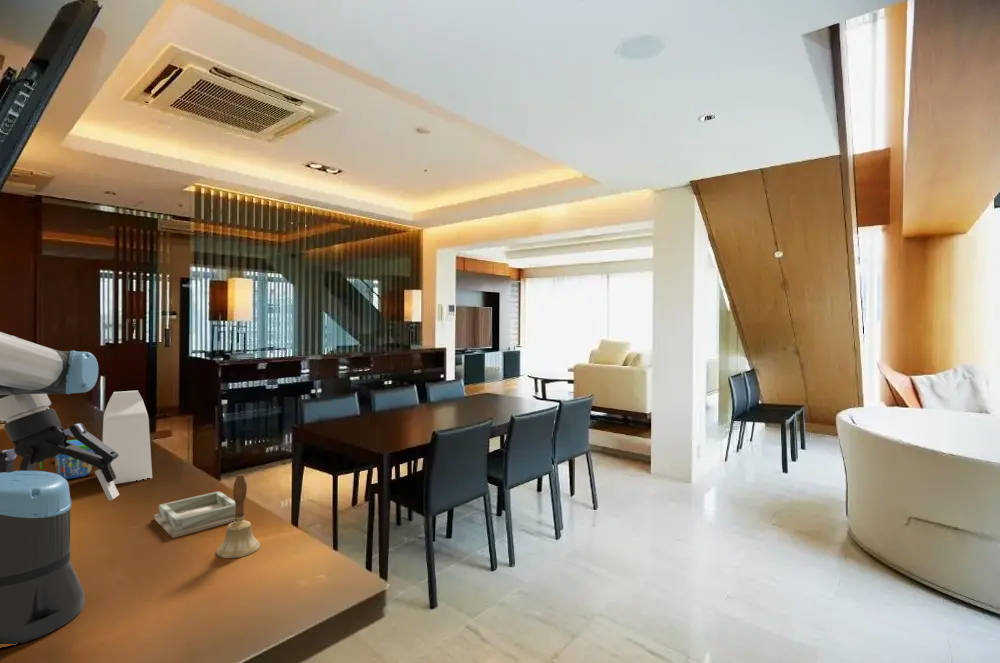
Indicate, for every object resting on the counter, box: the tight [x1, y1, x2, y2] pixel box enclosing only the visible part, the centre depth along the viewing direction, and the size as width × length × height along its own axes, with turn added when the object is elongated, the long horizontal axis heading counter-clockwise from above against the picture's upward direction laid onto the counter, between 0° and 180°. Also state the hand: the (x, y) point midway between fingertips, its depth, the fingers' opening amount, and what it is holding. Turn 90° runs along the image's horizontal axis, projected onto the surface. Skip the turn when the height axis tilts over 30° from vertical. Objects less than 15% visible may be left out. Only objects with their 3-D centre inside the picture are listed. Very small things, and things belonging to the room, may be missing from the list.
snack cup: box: [39, 439, 95, 480], centre depth 151 cm, size 16×10×10 cm
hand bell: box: [216, 473, 261, 559], centre depth 105 cm, size 8×8×16 cm
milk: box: [101, 390, 153, 485], centre depth 150 cm, size 12×12×26 cm
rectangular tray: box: [153, 490, 236, 539], centre depth 121 cm, size 15×15×4 cm
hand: (76, 513), depth 98 cm, fingers open, 13 cm apart
